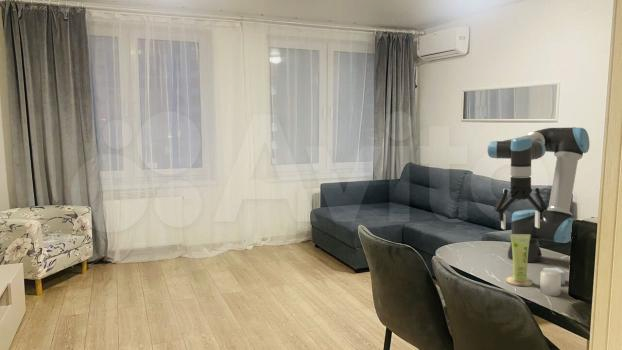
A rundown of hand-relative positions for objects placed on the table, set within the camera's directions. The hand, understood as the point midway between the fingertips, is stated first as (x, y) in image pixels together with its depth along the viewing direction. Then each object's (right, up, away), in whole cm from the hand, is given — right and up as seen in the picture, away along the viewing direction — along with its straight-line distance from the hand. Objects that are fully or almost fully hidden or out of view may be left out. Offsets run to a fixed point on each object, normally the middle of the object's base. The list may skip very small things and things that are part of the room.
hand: (520, 228), depth 186 cm
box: (+15, -22, +2) cm, 27 cm away
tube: (+1, -22, +2) cm, 22 cm away
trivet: (+1, -23, +2) cm, 23 cm away
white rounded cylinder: (+7, -24, -10) cm, 27 cm away
